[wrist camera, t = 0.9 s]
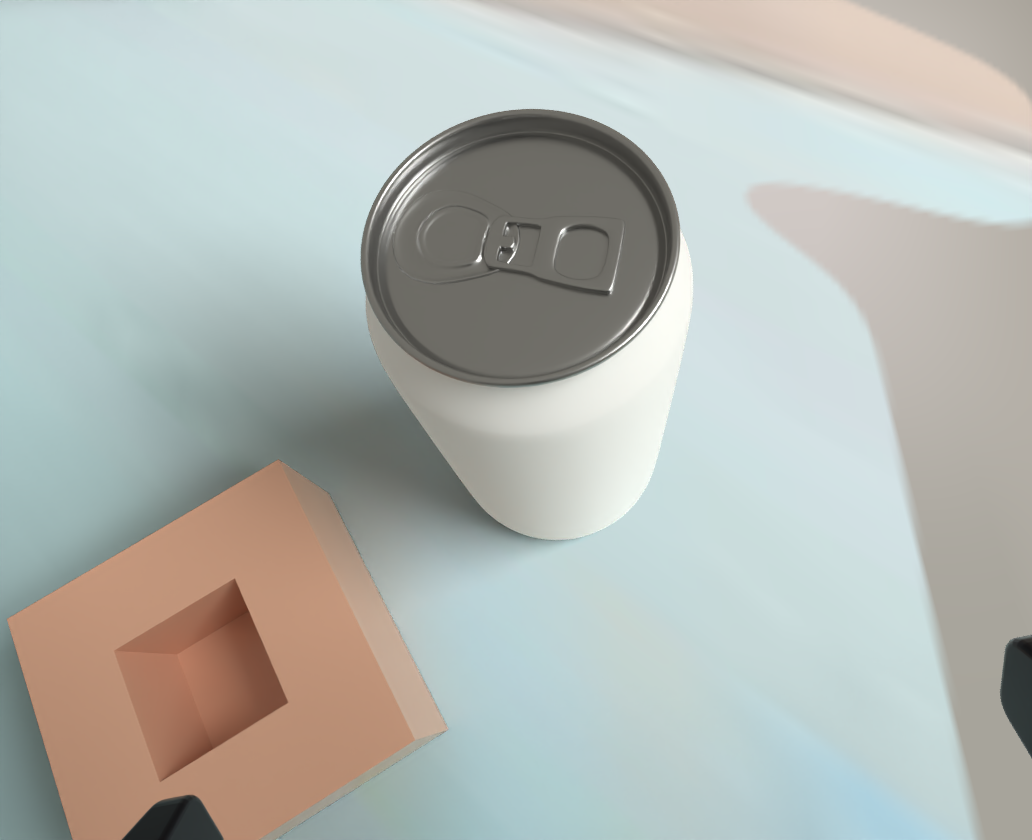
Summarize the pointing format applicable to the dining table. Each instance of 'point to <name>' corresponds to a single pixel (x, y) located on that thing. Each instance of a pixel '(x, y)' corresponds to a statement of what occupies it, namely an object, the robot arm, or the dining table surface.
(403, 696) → the peach block
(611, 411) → the can
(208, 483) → the dining table surface
